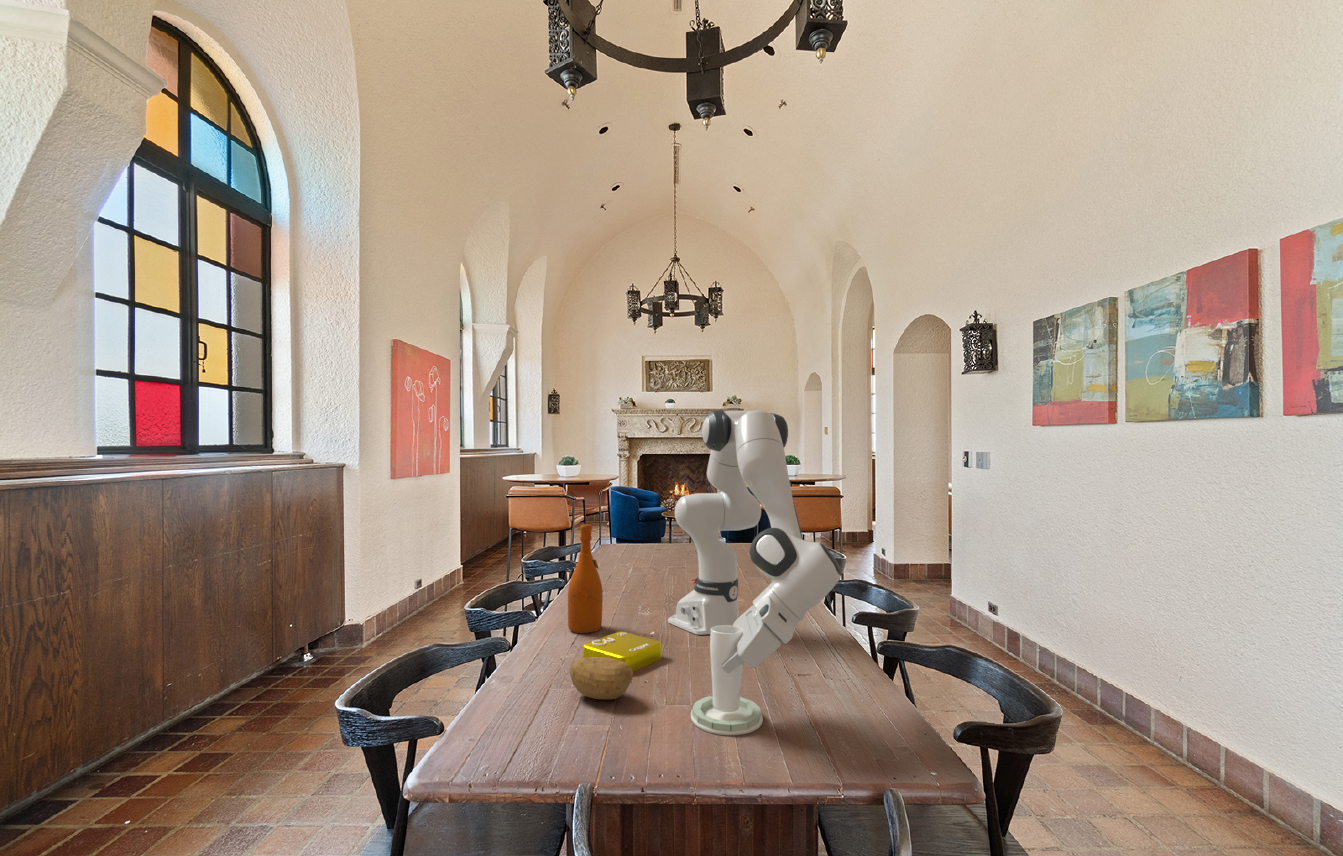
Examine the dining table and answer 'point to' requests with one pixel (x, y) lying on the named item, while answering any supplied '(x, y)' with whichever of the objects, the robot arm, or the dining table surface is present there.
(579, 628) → the wine bottle
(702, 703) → the green rimmed plate
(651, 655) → the element tile
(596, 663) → the potato
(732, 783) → the dining table surface
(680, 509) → the robot arm
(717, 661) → the drinking glass
